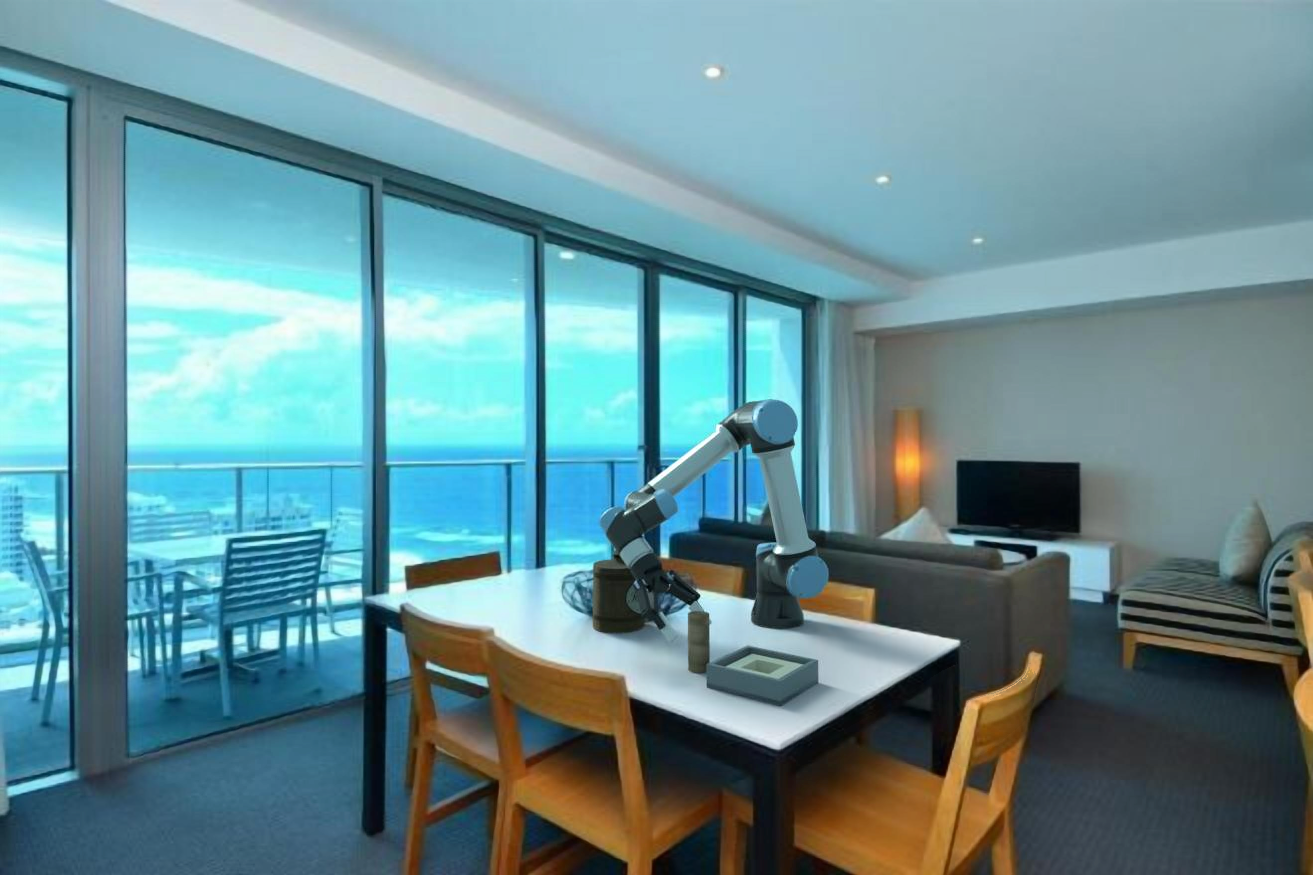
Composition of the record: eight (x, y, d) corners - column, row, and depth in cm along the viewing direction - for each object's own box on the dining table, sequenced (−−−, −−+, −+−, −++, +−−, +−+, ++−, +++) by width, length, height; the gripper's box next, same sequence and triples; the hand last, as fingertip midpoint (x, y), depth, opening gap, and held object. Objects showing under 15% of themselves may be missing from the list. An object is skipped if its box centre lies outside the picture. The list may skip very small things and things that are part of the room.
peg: (696, 664, 170) (696, 610, 170) (713, 668, 167) (713, 613, 167) (684, 670, 166) (683, 614, 166) (701, 674, 163) (701, 617, 163)
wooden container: (643, 633, 197) (642, 553, 197) (590, 633, 197) (589, 554, 197) (645, 619, 212) (644, 545, 212) (595, 619, 212) (594, 545, 212)
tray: (747, 666, 168) (747, 645, 168) (818, 682, 157) (818, 659, 157) (706, 687, 155) (706, 664, 155) (780, 706, 144) (780, 681, 144)
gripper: (664, 563, 187) (712, 630, 178) (599, 578, 168) (648, 654, 159) (680, 545, 184) (730, 612, 175) (615, 558, 165) (667, 634, 155)
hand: (691, 632), depth 167 cm, fingers open, 13 cm apart
